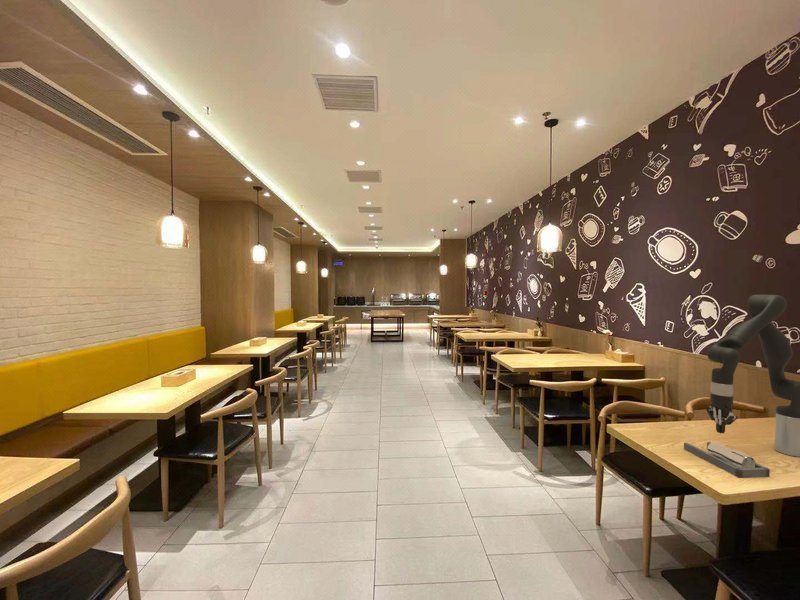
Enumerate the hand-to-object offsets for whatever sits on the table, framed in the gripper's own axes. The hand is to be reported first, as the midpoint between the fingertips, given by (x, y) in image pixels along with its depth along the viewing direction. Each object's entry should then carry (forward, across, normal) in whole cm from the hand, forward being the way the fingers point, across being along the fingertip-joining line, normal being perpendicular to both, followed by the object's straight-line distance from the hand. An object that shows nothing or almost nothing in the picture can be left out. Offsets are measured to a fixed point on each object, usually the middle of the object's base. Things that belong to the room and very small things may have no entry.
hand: (720, 432), depth 157 cm
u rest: (+12, -1, 0) cm, 12 cm away
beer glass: (+9, +4, -1) cm, 10 cm away
